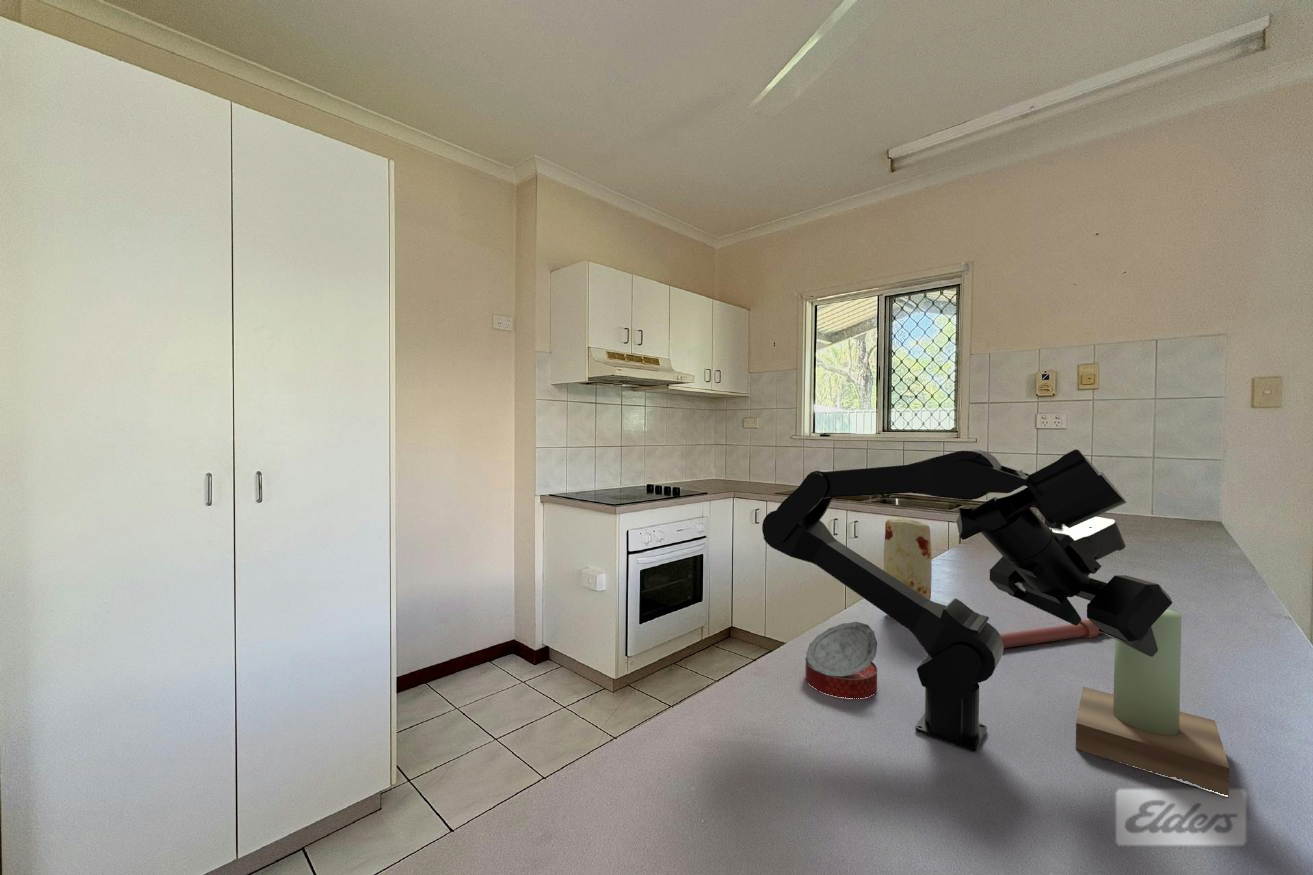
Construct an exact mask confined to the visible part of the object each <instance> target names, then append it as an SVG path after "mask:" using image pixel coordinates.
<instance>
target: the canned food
mask: <svg viewBox="0 0 1313 875" xmlns="http://www.w3.org/2000/svg"><path fill="white" fill-rule="evenodd" d="M877 648H878V640H877V638H876V633H875V631H874V630H873V629H872V628H871V626H870V625H869V624H866V623H863V622H859V621H853V622H846V623H845V622H843V623H840V624H838V625H836V626H832V627H828V629H825V631H823V632H822V633H820V634H817V635H816V637H814V639H813V640H812V641H811V642H810V643H809V645H808V648H807V650H806V652H805V655H806V656H805V659H804V660H805V669H804V670H805V674H804V675H805V676H804V678H805V677H806V679H805V681H806V680H807V682H808V683H809V684H810V685H811V686H813V687H814V688H816V689H817V690H818V691H821V692H823V693H826V694H829V695H833V696H837V697H844V698H845V697H846V698H853V699H854V698H855V699H856V698H857V699H858V698H859V699H860V698H865V697H869V696H871V695H873V694H875V693H876V694H877V692H876V691H878V667H877V665H876V664H875V663H874V662H873V661H874V659H875V657H876V656H877V650H878V649H877ZM807 682H806V683H807ZM818 691H817V692H818ZM876 694H875V695H876ZM873 696H874V695H873Z"/></svg>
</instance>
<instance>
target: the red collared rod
mask: <svg viewBox="0 0 1313 875" xmlns="http://www.w3.org/2000/svg"><path fill="white" fill-rule="evenodd" d="M1099 629H1100V628H1098V627H1097V626H1095V625H1094V624H1093V623H1092V622H1091V621H1090V620H1089V619H1082V621H1081V622H1080V623H1079V624H1078V625H1077V626H1075V625H1073V624H1071V623H1069V624H1063V625H1055V626H1048V627H1041V628H1035V629H1027V630H1018V631H1012V632H1011V631H1010V632H1005V633H1004V632H1003V633H999V634H1000V637H1001V639H1002V642H1003V649H1006V648H1007V649H1008V648H1013V647H1020V646H1021V647H1022V646H1028V645H1033V644H1035V645H1036V644H1041V643H1042V644H1043V643H1048V642H1054V641H1062V640H1067V639H1068V640H1069V639H1075V638H1076V639H1077V638H1083V639H1086V640H1087V639H1093V638H1096V637H1098V635H1102V634H1104V633H1102V632H1100V631H1099ZM1104 635H1105V634H1104Z"/></svg>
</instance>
